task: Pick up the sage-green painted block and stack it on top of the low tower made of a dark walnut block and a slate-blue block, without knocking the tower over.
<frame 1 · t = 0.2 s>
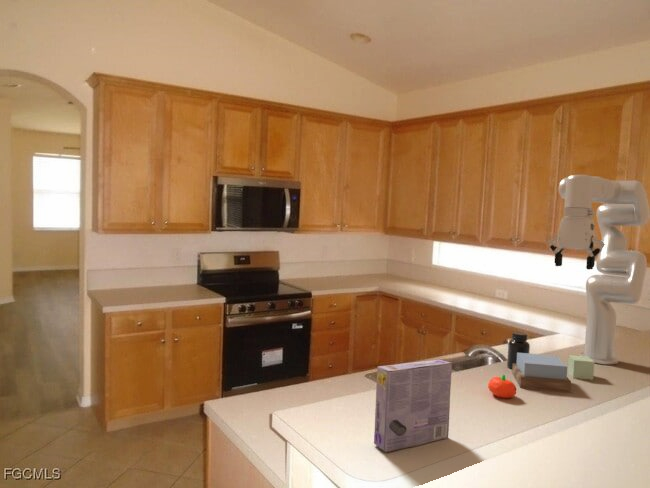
hand: (573, 267, 156), 36 cm above the counter, tool pointing down, fingers open, 9 cm apart
slate top block: (540, 371, 152), point 3 cm above the counter, touching walnut base block
pumpkin: (500, 396, 140), on the counter
supplement bottle: (517, 368, 167), on the counter
sage block: (580, 376, 160), on the counter
walnut base block: (539, 384, 153), on the counter, touching slate top block
cake pan box: (413, 442, 109), on the counter
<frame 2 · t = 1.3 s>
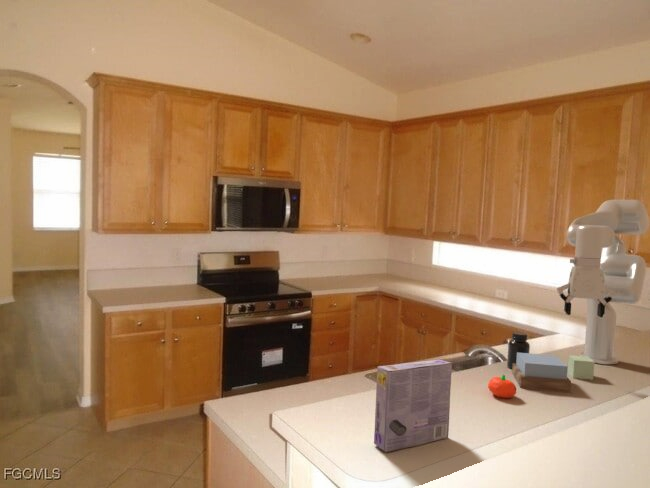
hand: (583, 315, 159), 20 cm above the counter, tool pointing down, fingers open, 9 cm apart
nothing on the counter moved.
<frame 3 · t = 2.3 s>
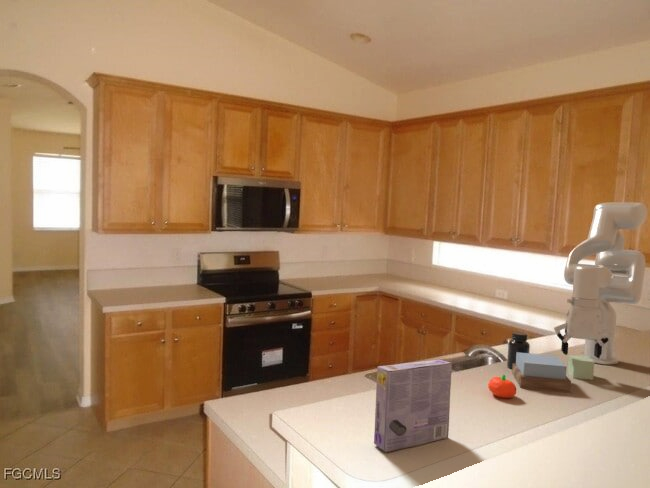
hand: (580, 355, 159), 7 cm above the counter, tool pointing down, fingers open, 9 cm apart
nothing on the counter moved.
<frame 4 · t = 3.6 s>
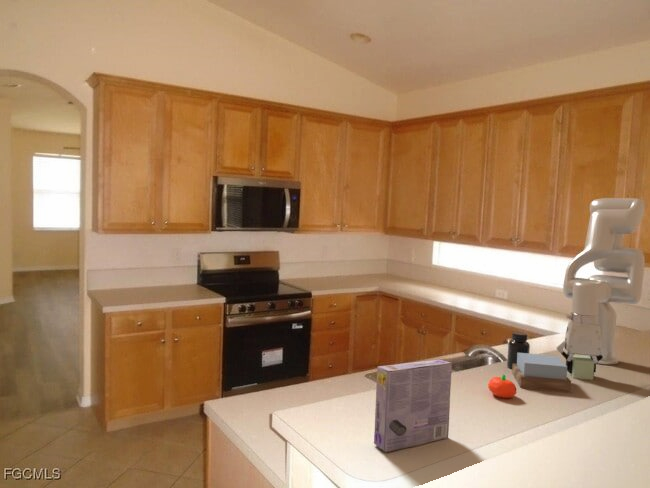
hand: (580, 372, 160), 1 cm above the counter, tool pointing down, fingers closed on sage block, 6 cm apart
sage block: (580, 376, 160), on the counter, touching gripper
everything else where it was.
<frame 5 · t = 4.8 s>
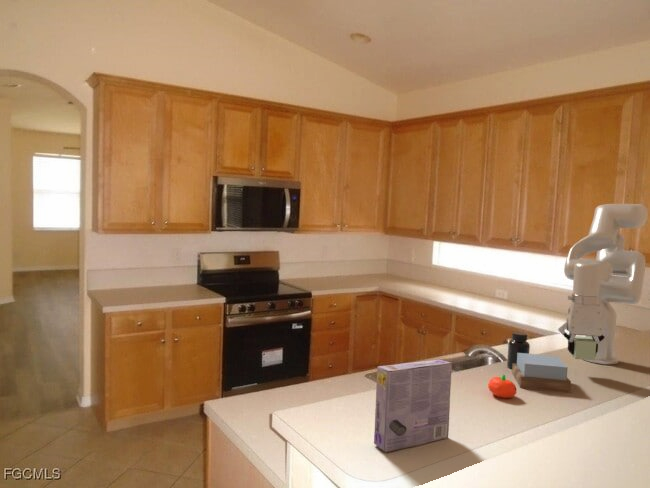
hand: (582, 353, 161), 7 cm above the counter, tool pointing down, fingers closed on sage block, 6 cm apart
sage block: (582, 356, 161), point 6 cm above the counter, touching gripper
everything else where it was.
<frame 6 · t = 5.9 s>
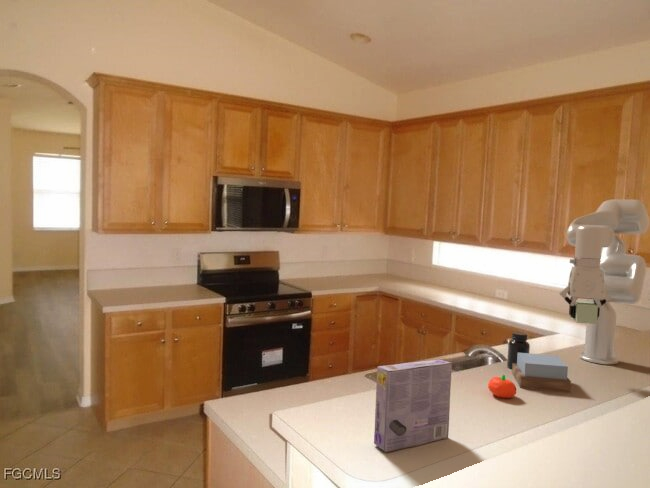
hand: (583, 317, 159), 19 cm above the counter, tool pointing down, fingers closed on sage block, 6 cm apart
sage block: (583, 321, 159), point 18 cm above the counter, touching gripper
everything else where it was.
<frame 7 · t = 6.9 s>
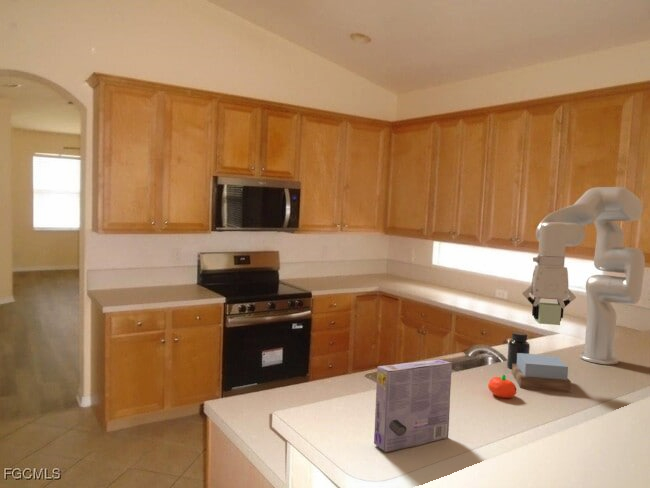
hand: (547, 318, 152), 20 cm above the counter, tool pointing down, fingers closed on sage block, 6 cm apart
sage block: (546, 322, 152), point 19 cm above the counter, touching gripper
everything else where it was.
when the fingers open (10 cm above the counter, at t = 10.9 s): sage block drops 1 cm, point 7 cm above the counter.
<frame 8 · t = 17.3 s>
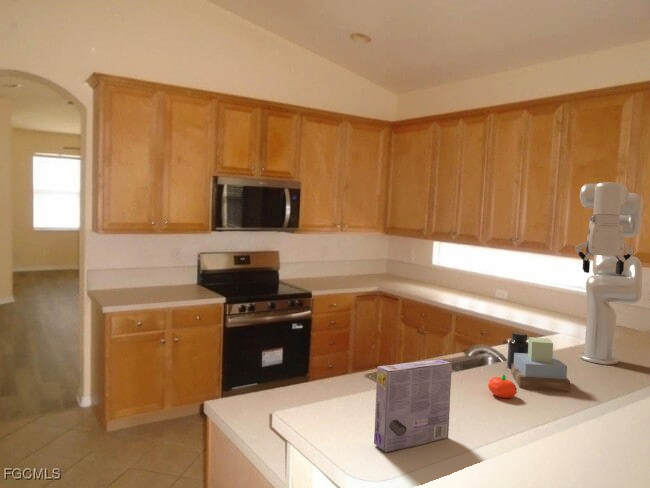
hand: (602, 273, 158), 34 cm above the counter, tool pointing down, fingers open, 9 cm apart
sage block: (539, 359, 152), point 7 cm above the counter
at the end: sage block 0.2 cm off-centre on the slate top block, point 4.0 cm above the slate top block's base; slate top block 0.1 cm off-centre on the walnut base block, point 4.0 cm above the walnut base block's base; sage block tilted 0° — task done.
